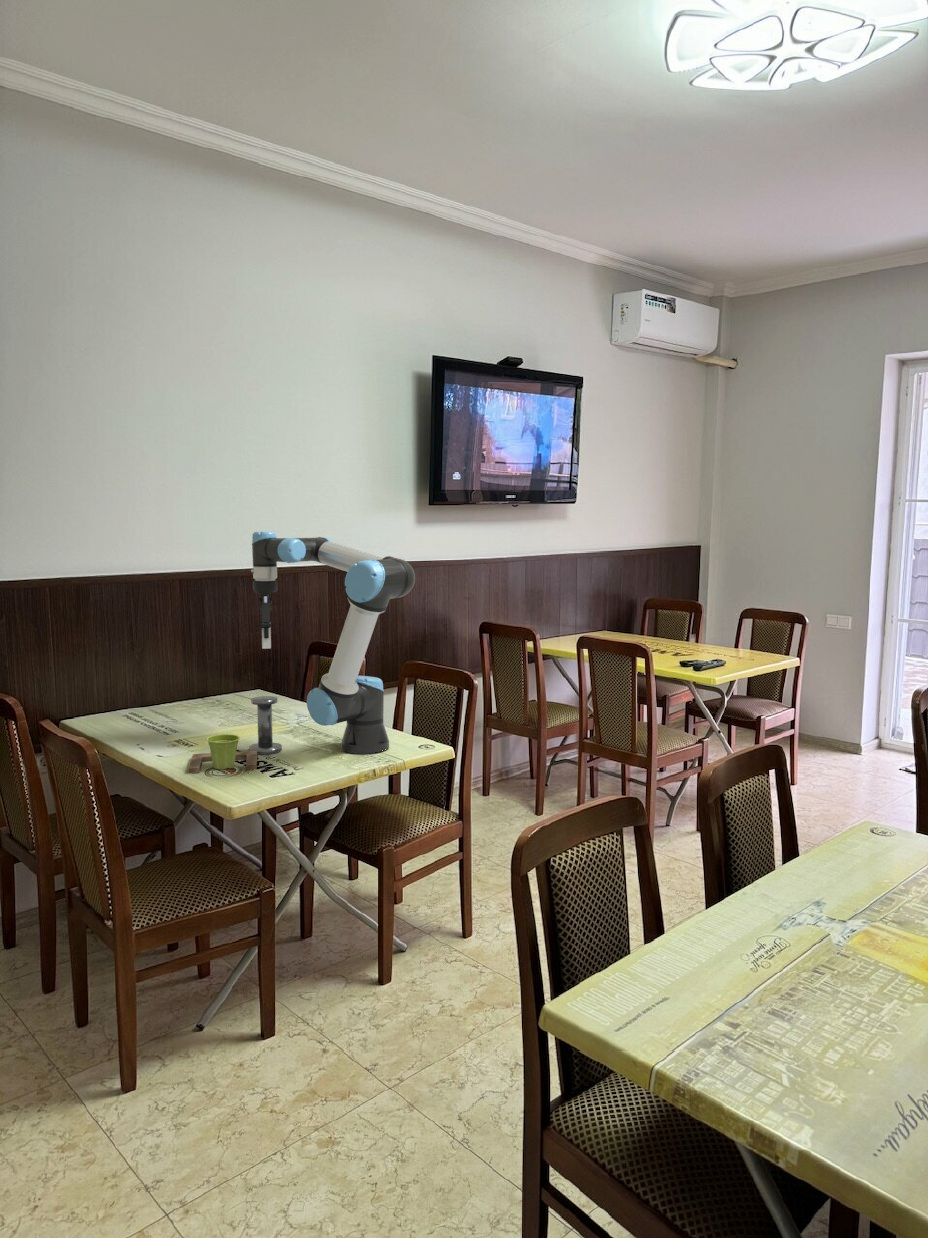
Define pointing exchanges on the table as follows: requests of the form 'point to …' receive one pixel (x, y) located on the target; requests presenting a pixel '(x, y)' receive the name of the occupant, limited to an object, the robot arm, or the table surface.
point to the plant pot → (223, 750)
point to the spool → (265, 726)
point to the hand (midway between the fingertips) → (266, 645)
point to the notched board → (206, 757)
